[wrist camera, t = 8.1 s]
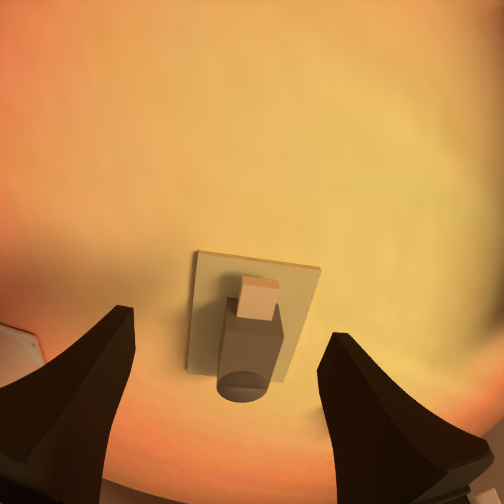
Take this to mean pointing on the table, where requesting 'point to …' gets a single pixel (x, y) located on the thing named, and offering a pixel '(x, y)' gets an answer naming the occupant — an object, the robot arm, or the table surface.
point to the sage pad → (228, 285)
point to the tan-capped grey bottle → (249, 341)
